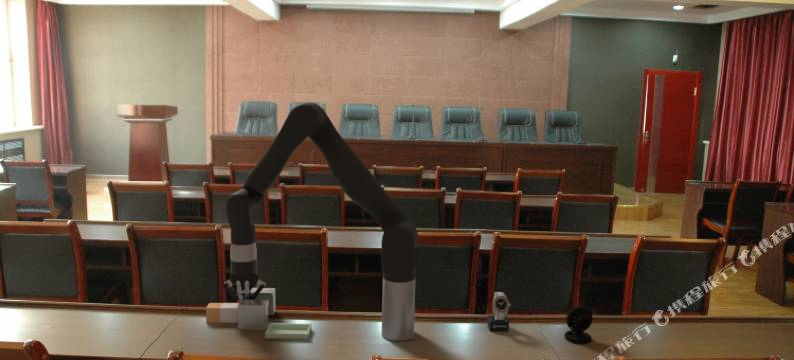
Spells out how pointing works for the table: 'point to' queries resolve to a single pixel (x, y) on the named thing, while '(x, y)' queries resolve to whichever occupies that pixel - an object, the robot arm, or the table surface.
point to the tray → (288, 331)
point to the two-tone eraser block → (222, 313)
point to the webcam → (579, 325)
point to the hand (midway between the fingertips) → (245, 312)
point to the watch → (499, 313)
